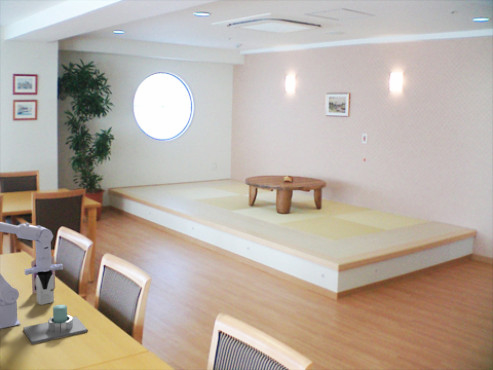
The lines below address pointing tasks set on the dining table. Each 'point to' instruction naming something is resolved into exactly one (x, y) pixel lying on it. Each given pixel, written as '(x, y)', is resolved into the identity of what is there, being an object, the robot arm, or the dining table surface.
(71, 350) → the dining table surface
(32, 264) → the greeting card
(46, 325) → the board
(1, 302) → the robot arm
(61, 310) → the plug
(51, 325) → the grey segmented ring
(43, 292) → the skincare box
